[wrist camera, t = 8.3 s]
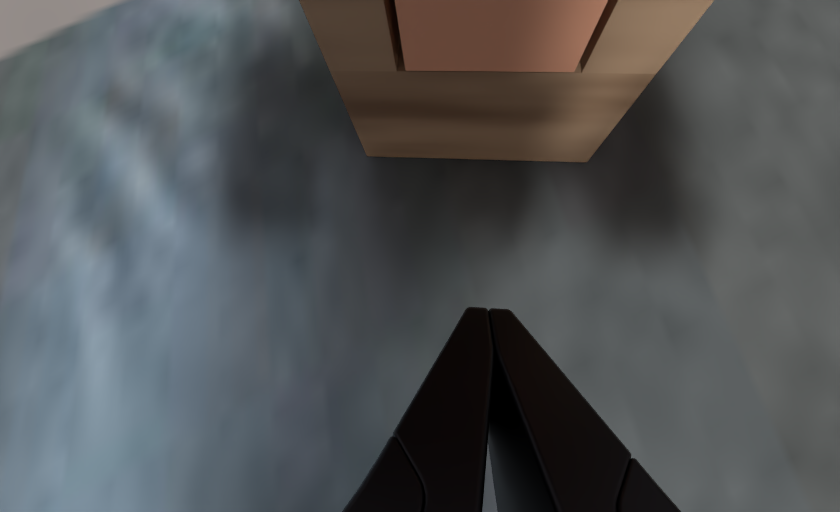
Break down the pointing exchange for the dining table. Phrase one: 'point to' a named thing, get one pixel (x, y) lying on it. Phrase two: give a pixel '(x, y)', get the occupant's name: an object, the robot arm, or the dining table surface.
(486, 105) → the sleeve block
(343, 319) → the dining table surface
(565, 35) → the peg
